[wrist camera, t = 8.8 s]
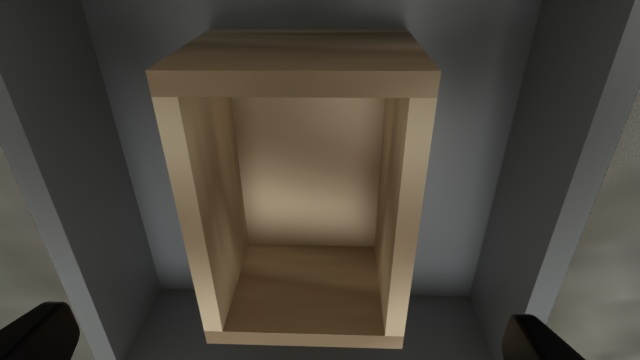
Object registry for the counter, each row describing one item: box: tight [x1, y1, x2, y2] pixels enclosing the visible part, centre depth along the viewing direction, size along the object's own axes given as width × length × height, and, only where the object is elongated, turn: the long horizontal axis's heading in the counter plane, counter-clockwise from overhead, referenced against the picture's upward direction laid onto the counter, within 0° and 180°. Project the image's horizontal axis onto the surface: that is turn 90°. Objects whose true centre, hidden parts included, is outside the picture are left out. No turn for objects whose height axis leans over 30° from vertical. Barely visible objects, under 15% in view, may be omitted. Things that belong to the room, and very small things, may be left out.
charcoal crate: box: [0, 0, 640, 360], centre depth 14 cm, size 16×16×5 cm
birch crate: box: [145, 29, 441, 349], centre depth 13 cm, size 9×6×5 cm
